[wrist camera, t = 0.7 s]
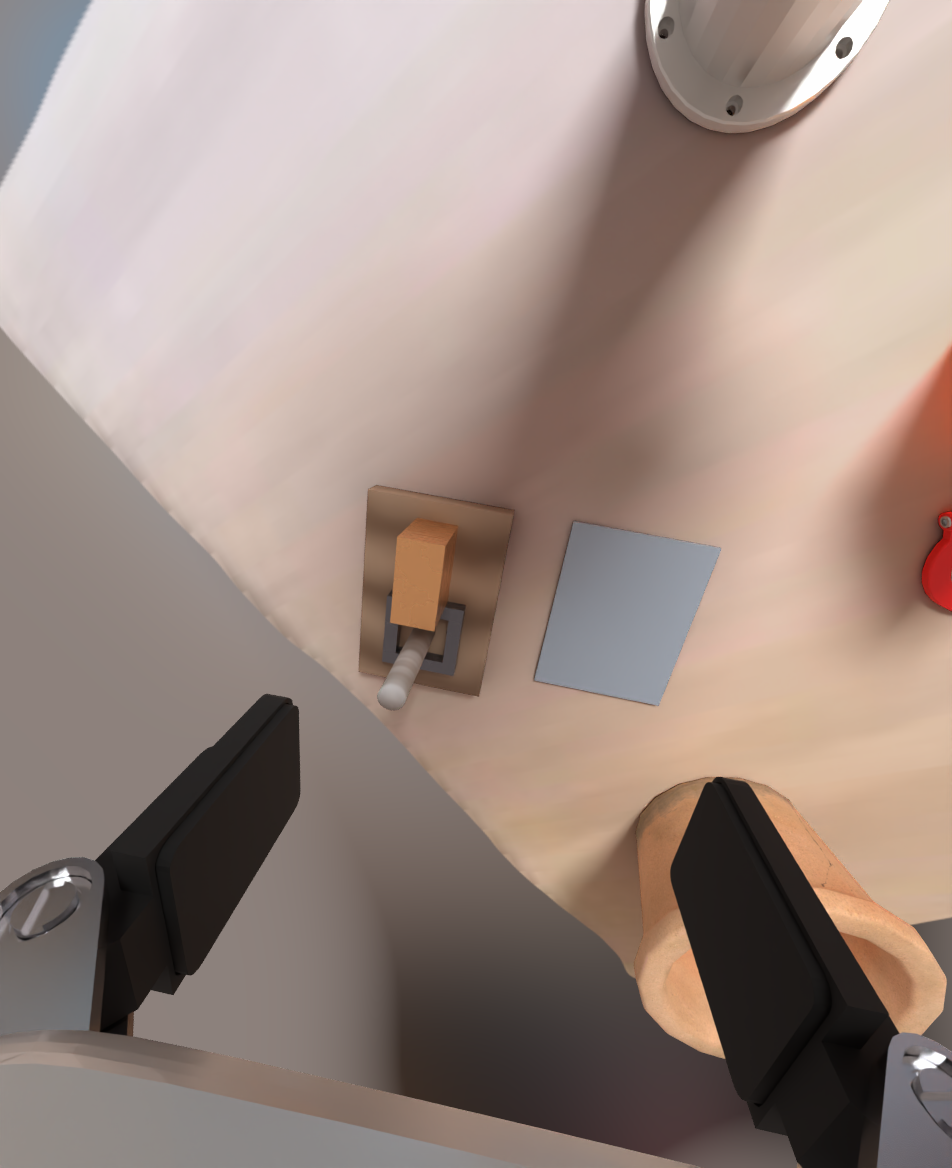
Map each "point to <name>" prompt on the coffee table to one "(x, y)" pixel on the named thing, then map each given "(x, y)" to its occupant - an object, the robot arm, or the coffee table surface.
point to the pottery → (866, 927)
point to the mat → (622, 611)
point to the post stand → (470, 586)
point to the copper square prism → (424, 592)
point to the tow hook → (940, 566)
